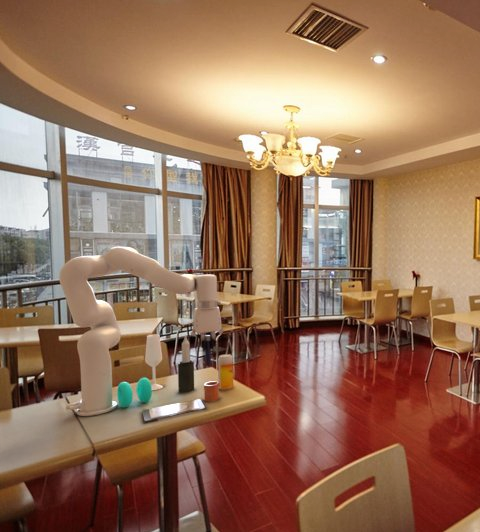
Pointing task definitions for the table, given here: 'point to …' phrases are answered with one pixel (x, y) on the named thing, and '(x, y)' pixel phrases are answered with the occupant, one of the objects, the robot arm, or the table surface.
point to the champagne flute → (153, 356)
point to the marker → (208, 350)
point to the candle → (185, 370)
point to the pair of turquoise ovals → (126, 394)
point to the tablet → (172, 410)
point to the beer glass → (225, 371)
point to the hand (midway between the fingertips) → (207, 348)
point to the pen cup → (211, 391)
